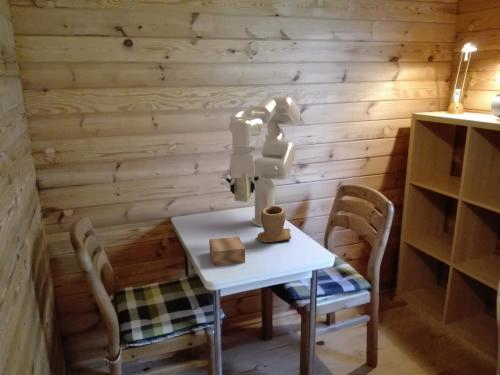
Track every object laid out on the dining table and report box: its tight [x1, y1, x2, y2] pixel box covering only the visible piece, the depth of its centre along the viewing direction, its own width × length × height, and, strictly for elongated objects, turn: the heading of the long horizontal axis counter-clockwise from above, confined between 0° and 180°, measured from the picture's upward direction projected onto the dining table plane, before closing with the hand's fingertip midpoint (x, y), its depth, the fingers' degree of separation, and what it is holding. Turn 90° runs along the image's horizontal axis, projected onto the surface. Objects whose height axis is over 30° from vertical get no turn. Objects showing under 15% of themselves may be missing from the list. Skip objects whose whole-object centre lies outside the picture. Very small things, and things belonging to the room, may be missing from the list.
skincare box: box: [233, 173, 253, 203], centre depth 167 cm, size 6×4×12 cm
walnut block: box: [208, 236, 246, 267], centre depth 157 cm, size 12×12×6 cm
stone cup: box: [257, 205, 292, 243], centre depth 172 cm, size 15×12×15 cm
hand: (242, 192), depth 168 cm, fingers closed on skincare box, 7 cm apart
